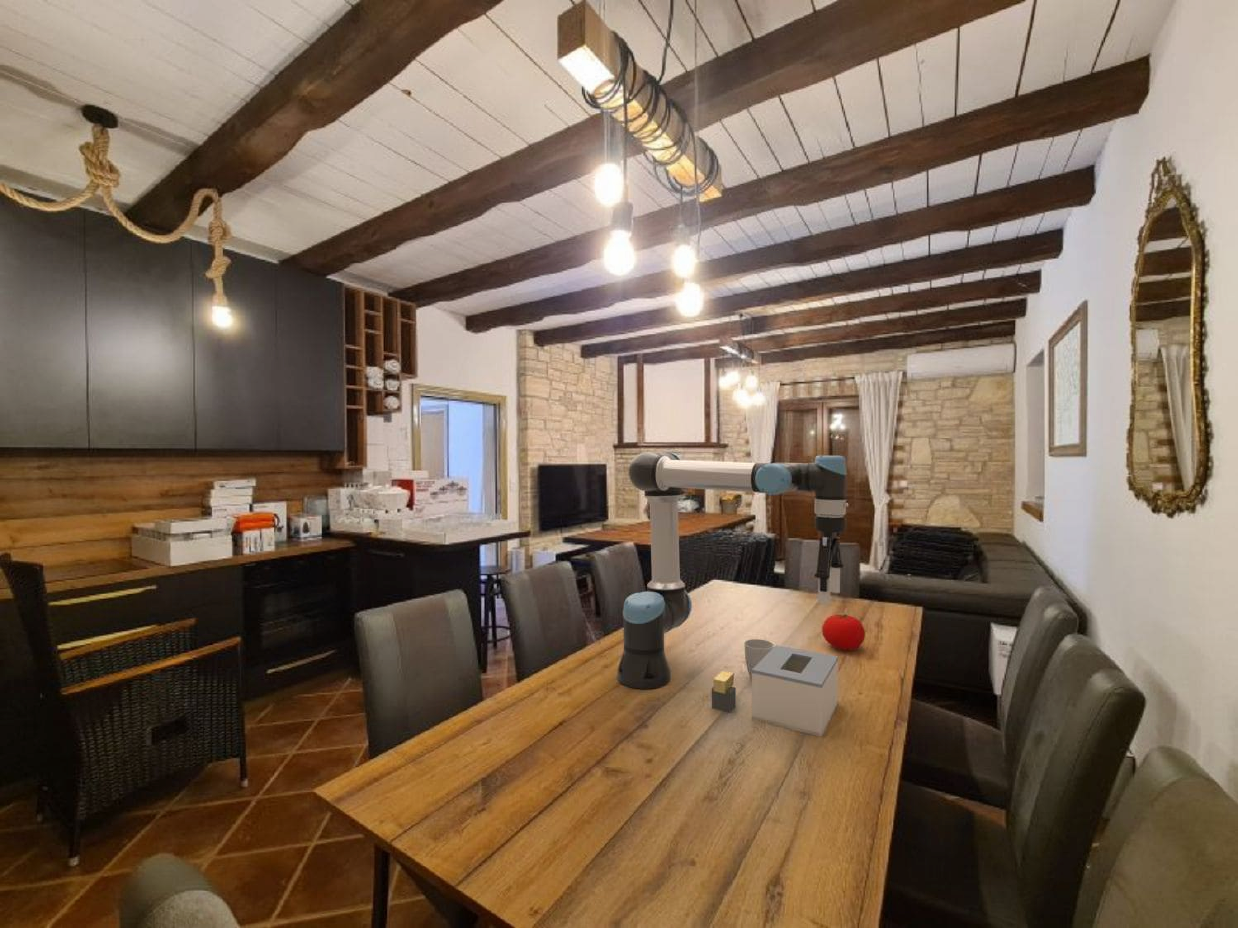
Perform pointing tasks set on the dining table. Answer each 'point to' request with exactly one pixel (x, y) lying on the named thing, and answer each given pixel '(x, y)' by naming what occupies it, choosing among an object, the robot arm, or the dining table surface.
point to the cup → (756, 652)
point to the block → (724, 700)
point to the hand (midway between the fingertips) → (829, 597)
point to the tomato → (843, 632)
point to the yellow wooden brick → (723, 682)
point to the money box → (795, 689)
